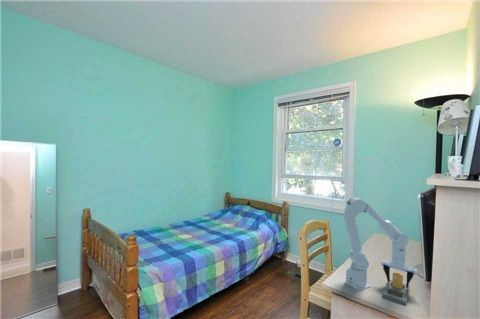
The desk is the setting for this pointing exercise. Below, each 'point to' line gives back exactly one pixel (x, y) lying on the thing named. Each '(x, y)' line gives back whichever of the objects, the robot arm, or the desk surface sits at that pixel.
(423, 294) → the desk surface
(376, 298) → the desk surface
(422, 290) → the desk surface
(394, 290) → the power strip
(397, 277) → the plug
